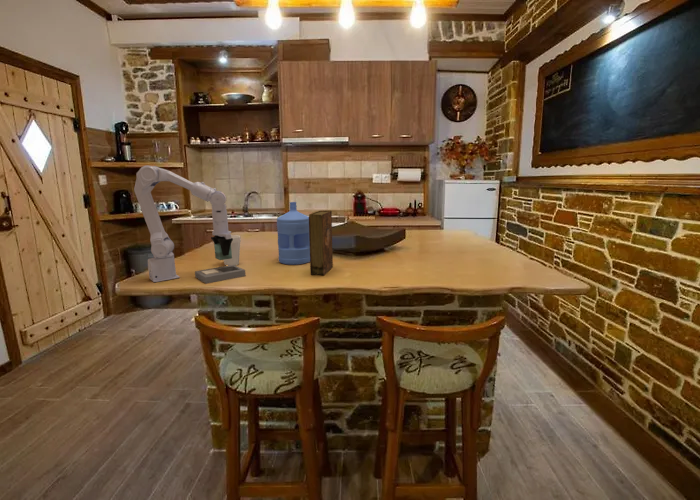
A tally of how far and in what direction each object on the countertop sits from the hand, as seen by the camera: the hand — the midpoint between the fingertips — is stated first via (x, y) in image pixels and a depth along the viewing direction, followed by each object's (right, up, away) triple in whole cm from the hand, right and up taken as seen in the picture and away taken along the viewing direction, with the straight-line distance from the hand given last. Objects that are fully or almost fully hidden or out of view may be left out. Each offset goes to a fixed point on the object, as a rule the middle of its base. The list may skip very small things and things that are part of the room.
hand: (223, 254), depth 148 cm
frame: (0, -9, -2) cm, 9 cm away
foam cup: (-2, -5, +18) cm, 19 cm away
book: (+41, -7, +6) cm, 42 cm away
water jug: (+26, -4, +23) cm, 35 cm away
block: (0, -2, 0) cm, 2 cm away
